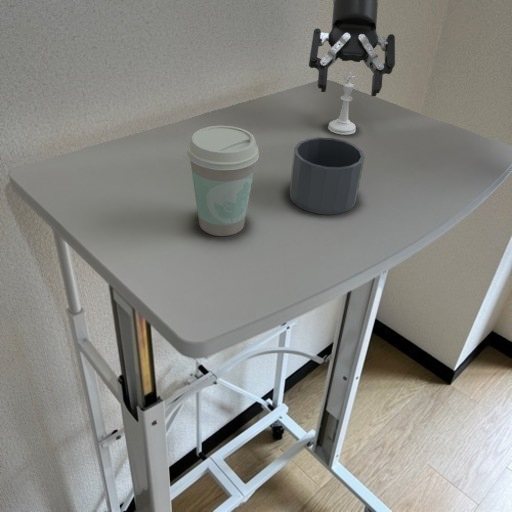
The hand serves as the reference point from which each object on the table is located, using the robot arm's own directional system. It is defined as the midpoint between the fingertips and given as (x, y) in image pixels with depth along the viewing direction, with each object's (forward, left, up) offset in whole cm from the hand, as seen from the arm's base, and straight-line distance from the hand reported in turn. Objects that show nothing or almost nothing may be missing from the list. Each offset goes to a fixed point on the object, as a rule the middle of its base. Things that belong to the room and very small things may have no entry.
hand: (349, 92), depth 93 cm
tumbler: (+6, +23, -7) cm, 25 cm away
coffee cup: (+20, +31, -7) cm, 37 cm away
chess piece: (0, -2, -7) cm, 8 cm away
